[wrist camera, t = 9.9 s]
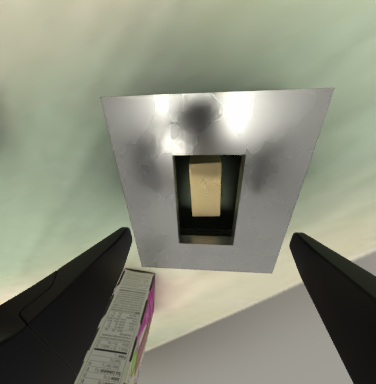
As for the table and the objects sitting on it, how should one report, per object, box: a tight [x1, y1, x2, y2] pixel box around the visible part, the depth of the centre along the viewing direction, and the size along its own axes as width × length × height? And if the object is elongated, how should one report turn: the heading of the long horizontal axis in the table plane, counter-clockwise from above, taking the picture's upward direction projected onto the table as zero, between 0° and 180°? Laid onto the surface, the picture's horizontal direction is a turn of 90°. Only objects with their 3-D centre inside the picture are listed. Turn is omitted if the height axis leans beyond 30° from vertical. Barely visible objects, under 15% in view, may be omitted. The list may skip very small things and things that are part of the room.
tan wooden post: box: [189, 155, 221, 216], centre depth 15 cm, size 2×5×3 cm, turn 4°
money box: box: [100, 88, 334, 273], centre depth 14 cm, size 12×14×5 cm
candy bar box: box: [74, 269, 155, 384], centre depth 19 cm, size 11×5×16 cm, turn 173°
